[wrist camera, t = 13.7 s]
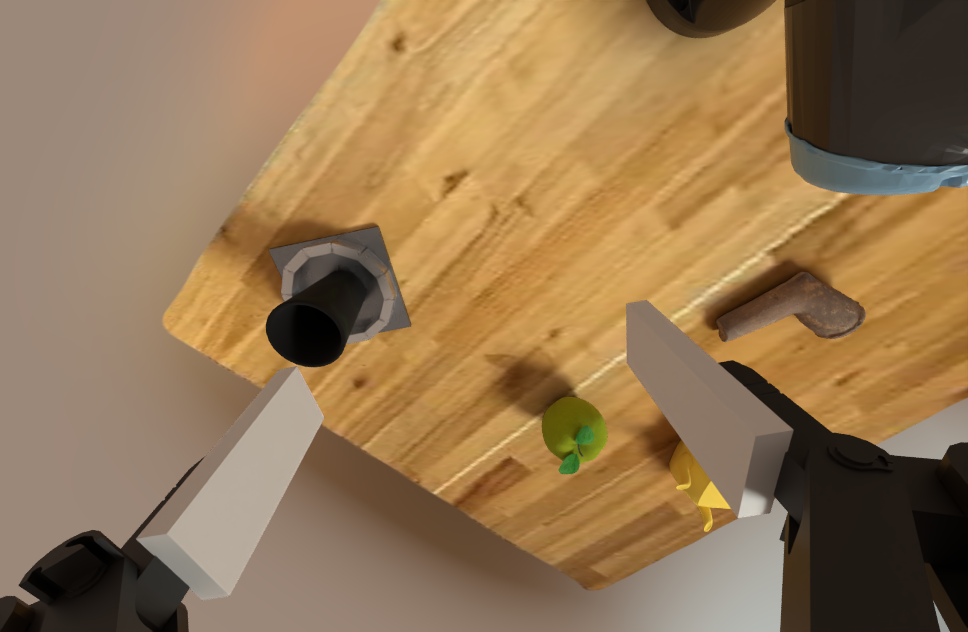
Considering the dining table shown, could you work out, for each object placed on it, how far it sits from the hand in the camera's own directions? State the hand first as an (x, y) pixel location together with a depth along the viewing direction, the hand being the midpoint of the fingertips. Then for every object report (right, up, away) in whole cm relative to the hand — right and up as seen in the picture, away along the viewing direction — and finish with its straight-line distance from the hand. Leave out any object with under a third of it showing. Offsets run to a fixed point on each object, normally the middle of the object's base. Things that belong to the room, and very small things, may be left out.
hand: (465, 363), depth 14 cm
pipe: (+42, +3, +36) cm, 56 cm away
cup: (-18, +5, +32) cm, 37 cm away
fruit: (+14, -13, +43) cm, 47 cm away
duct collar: (-18, +6, +32) cm, 37 cm away
